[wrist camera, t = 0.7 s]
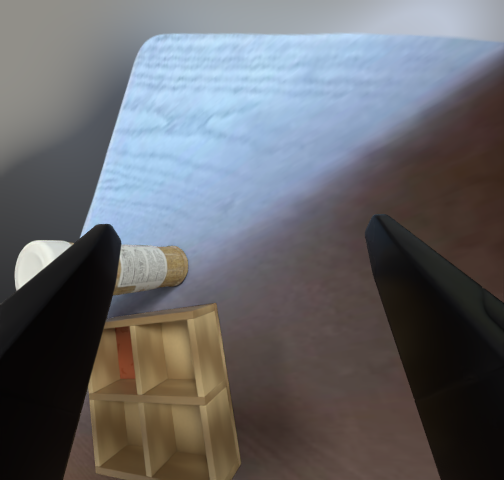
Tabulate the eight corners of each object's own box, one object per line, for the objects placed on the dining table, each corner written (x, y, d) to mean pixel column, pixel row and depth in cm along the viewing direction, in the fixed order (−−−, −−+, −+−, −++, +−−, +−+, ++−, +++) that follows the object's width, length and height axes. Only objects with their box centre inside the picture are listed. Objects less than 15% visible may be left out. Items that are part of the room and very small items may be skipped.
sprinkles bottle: (156, 283, 30) (8, 304, 18) (160, 243, 30) (14, 237, 18) (188, 289, 28) (47, 317, 16) (192, 246, 28) (54, 242, 16)
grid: (241, 463, 24) (219, 500, 21) (128, 447, 30) (95, 473, 27) (216, 302, 26) (192, 310, 23) (114, 316, 32) (82, 324, 29)
